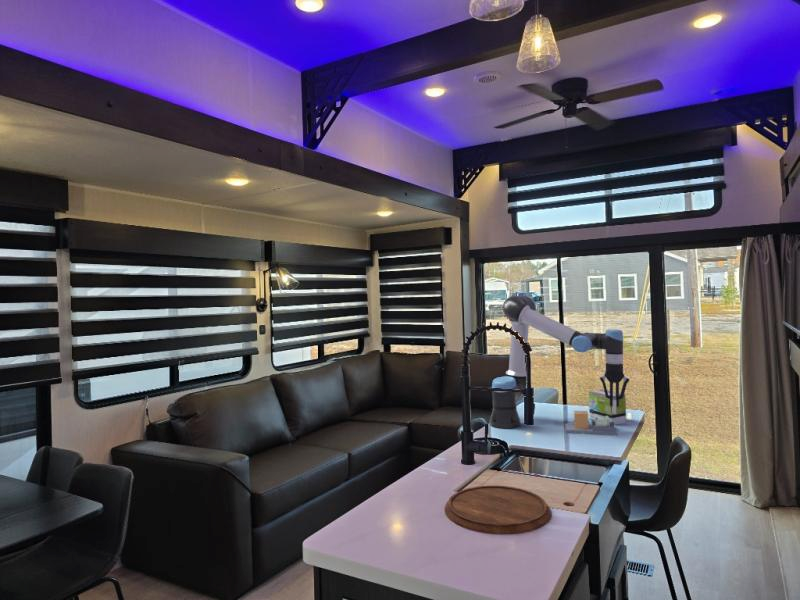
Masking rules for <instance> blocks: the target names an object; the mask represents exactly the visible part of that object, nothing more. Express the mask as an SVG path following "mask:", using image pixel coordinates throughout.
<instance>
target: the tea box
mask: <svg viewBox="0 0 800 600" xmlns="http://www.w3.org/2000/svg"><path fill="white" fill-rule="evenodd" d="M607 392H608V395H609V396H610V390H609V389H607ZM620 394H621V392H619V396H620ZM613 399H616V391H613ZM626 403H627V402H626V393H624V397H623V399H619V406H618V407H616V414H613V413H612V406H610V399H609V398H606V395H605V392H604V388H603V389H596V390H590V391H588V404H589V407H588V408H589V412H588V413H589V420H591V421H595V420H606V419H605V416H608V417H609V420H610V422H614V425H615V424H617V425H622V424H626V423H627V408H626V407H627V406H626ZM621 423H622V424H621ZM615 426H616V425H615Z"/></svg>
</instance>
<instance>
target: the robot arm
mask: <svg viewBox="0 0 800 600" xmlns="http://www.w3.org/2000/svg"><path fill="white" fill-rule="evenodd" d="M502 303H503V304H502V311H503V314H504V315H505V316H506V317H507V318H508V322H510V324H511V330H512V329H513V330H514V331H517V332H518V333H519V335H520V336H521V337H523V338H524V341H525V342H526V343H527V344H528V341H529V328H530V327H532V328H533V329H535V330H536V331H539V332H541V333H543V334H545V335H548V336H550V337H551V338H554V339H556V340H557V341H560V342H562V343H563V344H566V345H567V346H570V347H572V348H573V350H574V351H576V352H577V353H587V352H588V351H591V350H605V362H606V363H605V372H604V375H602V376H600V377H599V380H600V381H601V383H602V387H603V389H604V392H605V395H606V398H609V399H610V406H612V413H613V414H616V407H618V406H619V399H623V397H624V394H626V393H625V392H626V388H627V385H628V383H629V382H630V379H629V377H627V376H625V374H624V364H623V362H624V335H623V331H622V329H617V328H615V329H614V328H613V329H611V328H610V329H606V330H605V331H604V332H605V333H597V332H588V331H587V332H580V331H578V330H575V329H574V328H571V327H569V326H567V325H565V324H563V323H561V322H559V321H558V320H557V321H556V320H554V319H552V318H550V317H548V316H546V315H544V314H542V313H540V312H538V311H537V304H536V302H535V300H534V299H533V298H532V297H531V296H528V295H523V294H521V295H512V296H511V295H510V296H509V297H507V298H506V299H505V300H504V301H503V302H502ZM508 360H509V362H508V370H506V371H505V375H504V376H501V377H500V376H499V377H496V378H494V379H493V380H492V383H491V389H492V388H506V389H524V388H526V372H527V362H526V363H525V353H524V351H523V348H522V345H521V344H520V342H519V341H518V340H517V339H516V338H515V337H514V336H513V335H512V334H511V333H510V347H509V359H508ZM606 379H607V381H608V382H609V391H610V396H609V395H608V392H607V390H608V388H607V385H606V384H607V383H606ZM621 381H623V383H622V386H621V391H620V383H621ZM614 384H615V392H616V399H613V392H614ZM491 391H492V390H491ZM619 393H621V394H620V396H619ZM491 394H492V411H491V415H490V418H489V425H490V426H491V427H493V428H497V429H516V428H519V427H520V426H521V424H522V423H521V418H520V415H519V413H518V409H517V408H518V407H517V400H521V399H524V398H525V397H524V395H523V394H522V393H521V392H512V391H492V393H491Z"/></svg>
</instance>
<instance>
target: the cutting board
mask: <svg viewBox="0 0 800 600" xmlns="http://www.w3.org/2000/svg"><path fill="white" fill-rule="evenodd" d="M444 514H445V516H446V517H447V518H448V519H449V521H451V522H452V523H454V524H455V525H457V526H459V527H461V528H463V529H465V530H466V529H467V530H469V531H473V532H478V533H483V534H491V535H492V534H493V535H515V534H523V533H527V532H532V531H535V530H537V529H540V528H542V527H544V526H545V525H547V524H548V522H550V520H551V518H552V511H551V508H550V506H549V505H548V503H547V502H546V500H545V499H544V498H542V497H541V496H540V495H538V494H536V493H535V492H532V491H529V490H526V489H523V488H519V487H513V486H507V485H478V486H472V487H469V488H467V487H466V488H464V489H462V490H460V491H457V492H455V493H454V494H452V495H451V496H450V497H449V499H448V500H447V502H446V503H445V505H444Z"/></svg>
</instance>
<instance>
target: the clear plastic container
mask: <svg viewBox="0 0 800 600" xmlns="http://www.w3.org/2000/svg"><path fill="white" fill-rule="evenodd" d="M565 433H566V434H580V433H585V435H603V434H604V435H605V434H606V436H608V435H609V436H617V435H618V433H617V427H616V425H614V422H610V427H605V426H596V425H595V420H591V424H589V423H588V429H578V428H575V423H567V422H566V423H565Z"/></svg>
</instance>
